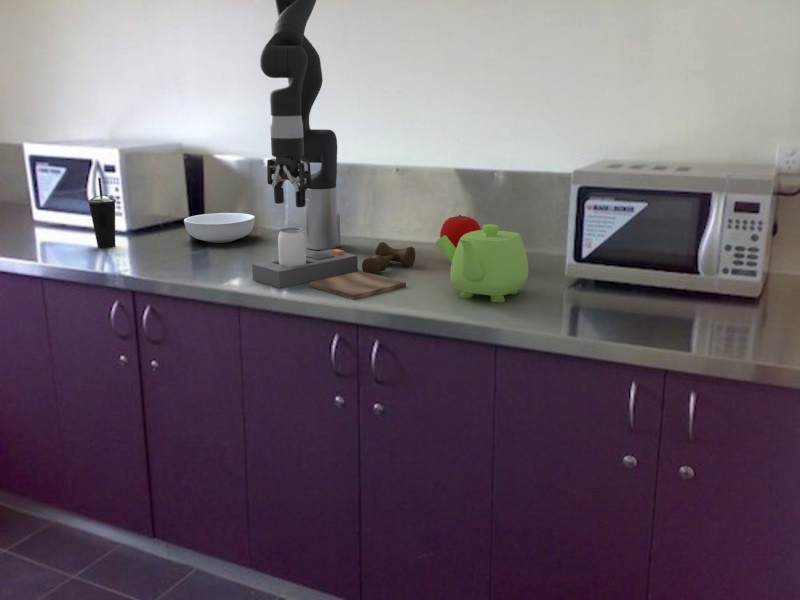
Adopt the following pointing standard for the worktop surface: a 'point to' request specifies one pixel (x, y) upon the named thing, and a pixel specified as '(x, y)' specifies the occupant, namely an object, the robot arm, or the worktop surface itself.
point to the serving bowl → (219, 226)
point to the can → (291, 247)
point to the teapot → (487, 262)
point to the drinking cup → (103, 219)
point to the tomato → (458, 228)
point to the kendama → (388, 258)
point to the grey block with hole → (305, 268)
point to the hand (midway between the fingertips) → (289, 205)
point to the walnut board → (357, 284)
